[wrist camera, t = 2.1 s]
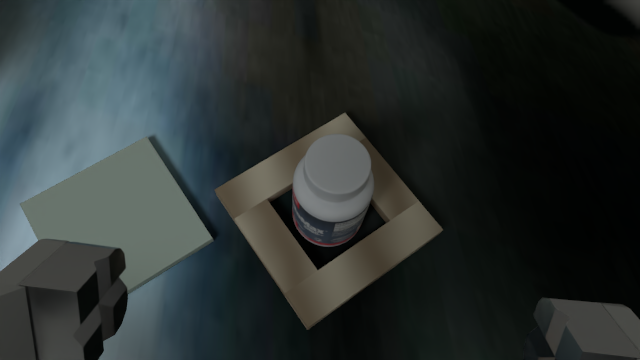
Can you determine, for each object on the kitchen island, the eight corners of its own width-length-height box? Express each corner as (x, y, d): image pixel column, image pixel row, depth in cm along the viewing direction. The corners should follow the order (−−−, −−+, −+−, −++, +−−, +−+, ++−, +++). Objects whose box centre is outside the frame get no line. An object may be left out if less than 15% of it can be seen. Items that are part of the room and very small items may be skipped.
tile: (82, 322, 33) (79, 321, 32) (24, 207, 36) (19, 204, 35) (213, 240, 36) (212, 238, 35) (148, 140, 39) (146, 136, 38)
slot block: (307, 329, 33) (308, 327, 33) (216, 194, 37) (214, 189, 36) (439, 234, 37) (443, 229, 36) (343, 119, 41) (345, 112, 40)
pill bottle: (279, 203, 37) (275, 147, 29) (336, 171, 39) (348, 109, 30) (317, 261, 35) (324, 219, 27) (375, 225, 37) (399, 175, 29)
